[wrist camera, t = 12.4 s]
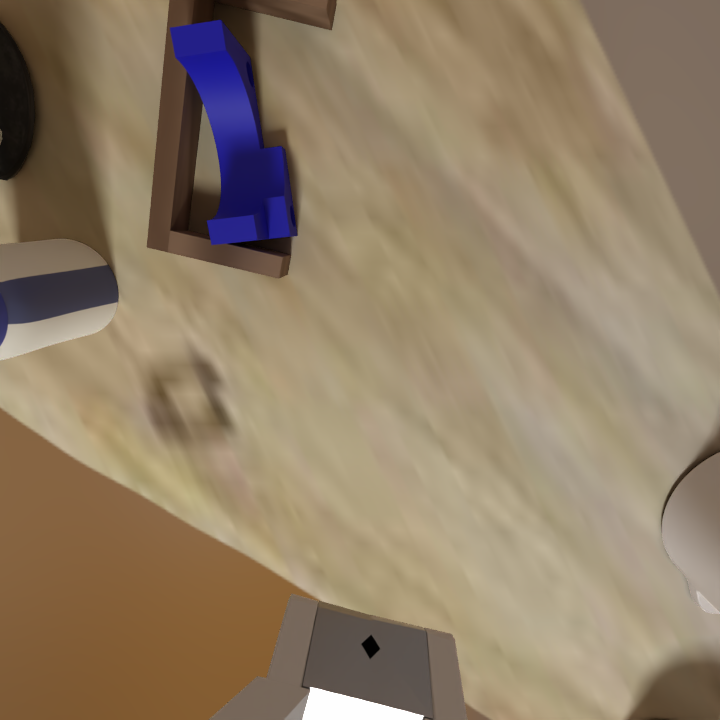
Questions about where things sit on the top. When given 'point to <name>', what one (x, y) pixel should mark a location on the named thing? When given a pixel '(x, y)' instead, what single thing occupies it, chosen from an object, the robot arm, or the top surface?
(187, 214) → the bracket
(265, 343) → the top surface
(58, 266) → the water bottle
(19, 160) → the holder
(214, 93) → the cable clip
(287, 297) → the top surface
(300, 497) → the top surface
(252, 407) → the top surface
